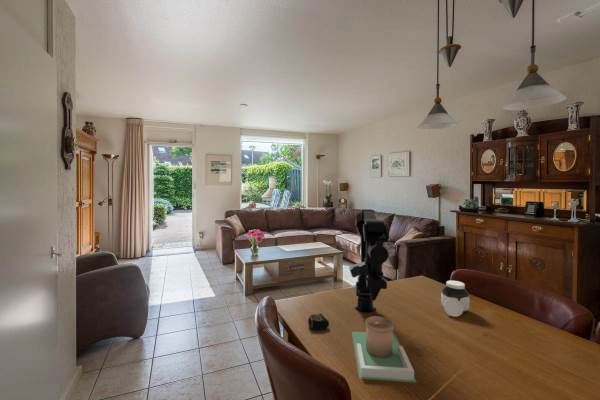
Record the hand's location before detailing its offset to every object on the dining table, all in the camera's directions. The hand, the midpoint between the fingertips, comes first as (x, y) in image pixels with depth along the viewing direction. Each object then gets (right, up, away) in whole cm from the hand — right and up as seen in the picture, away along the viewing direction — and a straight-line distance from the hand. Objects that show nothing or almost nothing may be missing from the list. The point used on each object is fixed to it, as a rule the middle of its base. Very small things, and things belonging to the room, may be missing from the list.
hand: (373, 300), depth 101 cm
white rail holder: (-2, -13, -18) cm, 22 cm away
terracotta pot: (-1, -12, -11) cm, 16 cm away
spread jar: (+39, -12, +18) cm, 44 cm away
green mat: (-1, -13, -12) cm, 18 cm away
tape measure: (-19, -12, +6) cm, 23 cm away
